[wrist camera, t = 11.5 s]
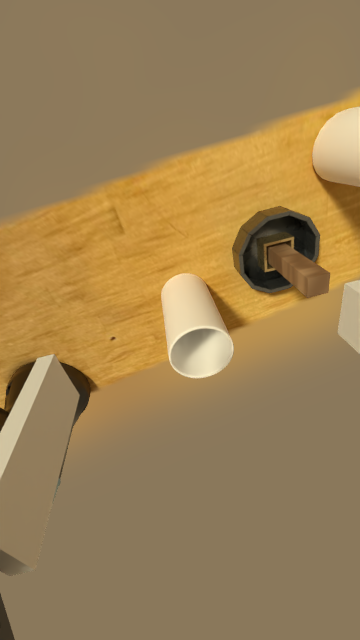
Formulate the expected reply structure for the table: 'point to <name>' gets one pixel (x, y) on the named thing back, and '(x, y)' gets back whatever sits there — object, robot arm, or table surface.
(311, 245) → the bowl
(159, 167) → the table surface
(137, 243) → the table surface
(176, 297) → the cup
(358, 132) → the potion bottle
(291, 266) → the square wooden stick
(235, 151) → the table surface
